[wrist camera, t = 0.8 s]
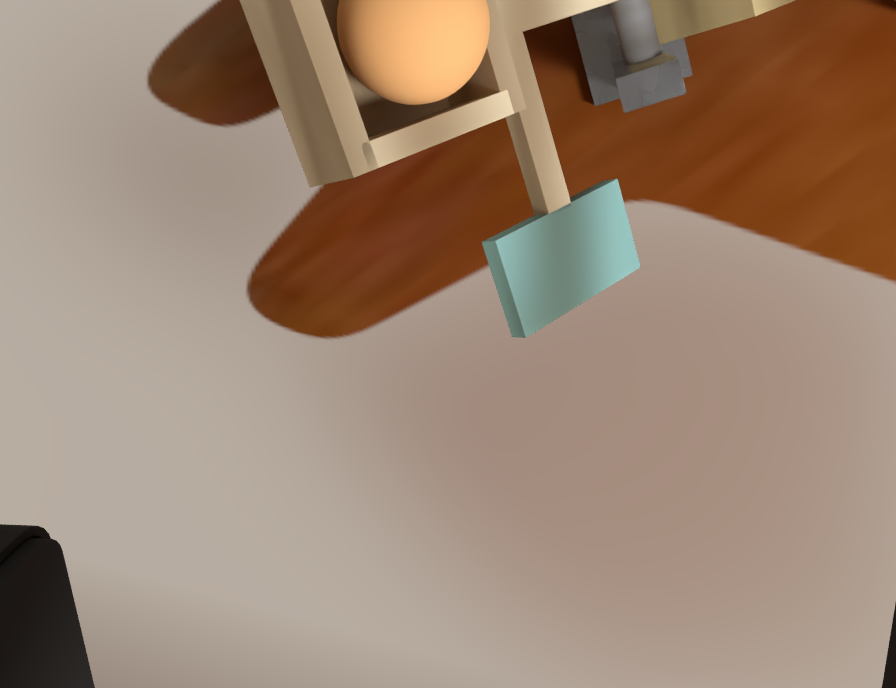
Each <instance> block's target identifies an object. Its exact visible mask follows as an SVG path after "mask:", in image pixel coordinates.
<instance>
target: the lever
mask: <svg viewBox="0 0 896 688" xmlns="http://www.w3.org/2000/svg"><path fill="white" fill-rule="evenodd" d="M792 1H795V0H487V4H488V9H489V17H490V32H489V39H488V44H487V48H486V51H485V54H484V56H483V59H482V61H481V63H480V65H479V67H478V68H477V70H476V72H475V73H474V74H473V76H472V77H471V78H470V79H469V80H468V81H467V82H466V83H465V84H464V85H463V86H462V87H461V88H460V89H459V90H457V91H456V92H455V93H453V94H451V95H450V96H448V97H446V98H444V99H441V100H439V101H436V102H432V103H428V104H420V105H407V104H401V103H396V102H393V101H390V100H387V99H385V98H383V97H381V96H379V95H377V94H376V93H374V92H372V91H371V90H370V89H368V88H367V87H366V86H365V85H364V84H362V82H361V81H360V80H359V79H358V78H357V77H356V76H355V74H354V73H353V72H352V70H351V69H350V67H349V65H348V64H347V62H346V60H345V58H344V55H343V53H342V50H341V47H340V43H339V39H338V33H337V10H338V5H339V0H240V3H241V5H242V8H243V11H244V13H245V16H246V19H247V21H248V24H249V27H250V29H251V32H252V35H253V37H254V40H255V43H256V45H257V48H258V50H259V53H260V56H261V58H262V61H263V64H264V66H265V69H266V72H267V74H268V77H269V80H270V82H271V85H272V88H273V90H274V93H275V96H276V98H277V101H278V104H279V106H280V109H281V112H282V114H283V117H284V120H285V122H286V125H287V128H288V130H289V133H290V136H291V138H292V141H293V144H294V146H295V149H296V152H297V154H298V157H299V160H300V162H301V165H302V168H303V170H304V173H305V176H306V178H307V181H308V184H309V186H310V187H314V186H318V185H323V184H327V183H332V182H336V181H341V180H345V179H350V178H354V177H357V176H359V175H362V174H364V173H367V172H369V171H372V170H374V169H377V168H379V167H382V166H384V165H387V164H389V163H392V162H394V161H397V160H399V159H402V158H404V157H407V156H409V155H412V154H414V153H417V152H419V151H422V150H424V149H427V148H429V147H432V146H434V145H437V144H439V143H442V142H444V141H447V140H449V139H452V138H454V137H457V136H459V135H462V134H464V133H467V132H469V131H472V130H474V129H477V128H479V127H482V126H484V125H487V124H489V123H492V122H494V121H497V120H499V119H502V118H504V117H506V120H507V123H508V127H509V130H510V134H511V137H512V140H513V144H514V147H515V150H516V154H517V157H518V160H519V164H520V167H521V171H522V174H523V177H524V181H525V184H526V187H527V191H528V194H529V197H530V201H531V204H532V208H533V211H534V214H535V215H534V216H532V217H530V218H529V219H527V220H525V221H523V222H521V223H519V224H517V225H515V226H513V227H511V228H509V229H507V230H505V231H503V232H501V233H499V234H497V235H495V236H493V237H491V238H489V239H487V240H485V241H483V242H482V244H483V247H484V251H485V254H486V257H487V260H488V263H489V266H490V269H491V272H492V276H493V279H494V281H495V285H496V288H497V291H498V294H499V297H500V301H501V304H502V307H503V310H504V313H505V316H506V319H507V322H508V325H509V328H510V332H511V335H512V337H523V338H526V337H528V336H529V335H531V334H533V333H534V332H536V331H538V330H539V329H541V328H542V327H544V326H546V325H547V324H549V323H551V322H552V321H554V320H555V319H557V318H559V317H560V316H562V315H564V314H565V313H567V312H568V311H570V310H572V309H573V308H575V307H577V306H578V305H580V304H581V303H583V302H585V301H586V300H588V299H589V298H591V297H593V296H594V295H596V294H598V293H599V292H601V291H603V290H604V289H606V288H607V287H609V286H611V285H612V284H614V283H615V282H617V281H618V280H620V279H622V278H624V277H625V276H627V275H629V274H630V273H632V272H634V271H635V270H637V269H638V268H640V263H639V259H638V256H637V252H636V248H635V244H634V240H633V236H632V233H631V229H630V225H629V222H628V218H627V214H626V210H625V206H624V202H623V199H622V195H621V191H620V187H619V183H618V180H617V179H613V180H606V181H602V182H600V183H598V184H596V185H594V186H592V187H590V188H588V189H586V190H584V191H582V192H580V193H578V194H576V195H574V196H572V197H570V198H569V194H568V191H567V187H566V183H565V180H564V176H563V173H562V169H561V166H560V162H559V159H558V155H557V152H556V148H555V145H554V141H553V137H552V134H551V130H550V127H549V123H548V120H547V116H546V113H545V109H544V106H543V102H542V99H541V95H540V92H539V88H538V84H537V81H536V77H535V74H534V70H533V67H532V63H531V60H530V56H529V53H528V49H527V46H526V42H525V38H524V35H523V32H524V31H527V30H530V29H533V28H537V27H540V26H543V25H546V24H549V23H552V22H555V21H558V20H561V19H564V18H567V17H570V16H573V15H576V14H579V13H582V12H585V11H589V10H592V9H595V8H598V7H601V6H604V5H607V4H610V7H611V11H612V15H613V19H614V23H615V27H616V31H617V35H618V39H619V43H620V47H621V51H622V55H623V59H624V63H625V66H627V65H631V64H635V63H638V62H641V61H644V60H647V59H650V58H653V57H656V56H658V55H661V54H662V53H661V49H660V44H664V43H667V42H670V41H674V40H677V39H680V38H684V37H687V36H691V35H694V34H697V33H701V32H704V31H707V30H711V29H714V28H717V27H721V26H724V25H728V24H731V23H734V22H738V21H741V20H744V19H748V18H751V17H754V16H757V15H760V14H762V13H765V12H767V11H770V10H772V9H775V8H777V7H780V6H782V5H785V4H787V3H790V2H792Z"/></svg>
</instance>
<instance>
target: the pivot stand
mask: <svg viewBox="0 0 896 688" xmlns="http://www.w3.org/2000/svg"><path fill="white" fill-rule="evenodd" d="M571 18H572V22H573V26H574V30H575V33H576V37H577V41H578V45H579V48H580V52H581V56H582V60H583V64H584V67H585V71H586V75H587V79H588V82H589V86H590V90H591V94H592V98H593V101H594V105H595V106H597V105H600V104H603V103H606V102H610V101H613V100H616V99H619V98H621V102H622V106H623V110H624V113H625V112H629V111H632V110H635V109H638V108H641V107H644V106H648V105H651V104H654V103H657V102H660V101H664V100H667V99H670V98H673V97H676V96H679V95H683V94H686V89H685V85H684V81H683V78H685V77H688V76H691V75H692V70H691V66H690V62H689V57H688V53H687V48H686V44H685V40H684V38H680V39H677V40H674V41H670V42H667V43H664V44H660V49H661V53H662V54H661V55H658V56H656V57H653V58H650V59H647V60H644V61H641V62H638V63H635V64H631V65H627V66H625V63H624V59H623V55H622V51H621V47H620V43H619V39H618V35H617V31H616V27H615V23H614V19H613V15H612V11H611V7H610V4H607V5H604V6H601V7H598V8H595V9H592V10H589V11H585V12H582V13H579V14H576V15H573V16H571Z"/></svg>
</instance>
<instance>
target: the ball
mask: <svg viewBox="0 0 896 688" xmlns="http://www.w3.org/2000/svg"><path fill="white" fill-rule="evenodd" d="M489 32H490V17H489V9H488V4H487V0H339V5H338V10H337V33H338V39H339V43H340V47H341V50H342V53H343V55H344V58H345V60H346V62H347V64H348V65H349V67H350V69H351V70H352V72H353V73H354V74H355V76H356V77H357V78H358V79H359V80H360V81H361V82H362V84H364V85H365V86H366V87H367V88H368V89H370V90H371V91H372V92H374V93H376V94H377V95H379V96H381V97H383V98H385V99H387V100H390V101H393V102H396V103H401V104H407V105H420V104H428V103H432V102H436V101H439V100H441V99H444V98H446V97H448V96H450V95H451V94H453V93H455V92H456V91H457V90H459V89H460V88H461V87H462V86H463V85H464V84H465V83H466V82H467V81H468V80H469V79H470V78H471V77H472V76H473V74H474V73H475V72H476V70H477V68H478V67H479V65H480V63H481V61H482V59H483V56H484V54H485V51H486V48H487V44H488V39H489Z"/></svg>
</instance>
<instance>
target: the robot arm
mask: <svg viewBox="0 0 896 688" xmlns="http://www.w3.org/2000/svg"><path fill="white" fill-rule="evenodd" d="M0 688H95V687H94V683H93V679H92V674H91V670H90V666H89V662H88V657H87V653H86V649H85V645H84V641H83V636H82V632H81V628H80V623H79V619H78V615H77V611H76V607H75V602H74V598H73V594H72V589H71V585H70V581H69V577H68V572H67V568H66V564H65V560H64V555H63V551H62V549H61V546H60V544H59V543H58V542H57V541H56V540H53V539H51V538H50V536H49V534H48V533H47V531H46V530H45V529H44V528H42V527H39V526H26V525H24V526H23V525H0ZM882 688H896V605H895V611H894V617H893V623H892V629H891V636H890V641H889V648H888V654H887V660H886V666H885V672H884V679H883V684H882Z"/></svg>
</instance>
